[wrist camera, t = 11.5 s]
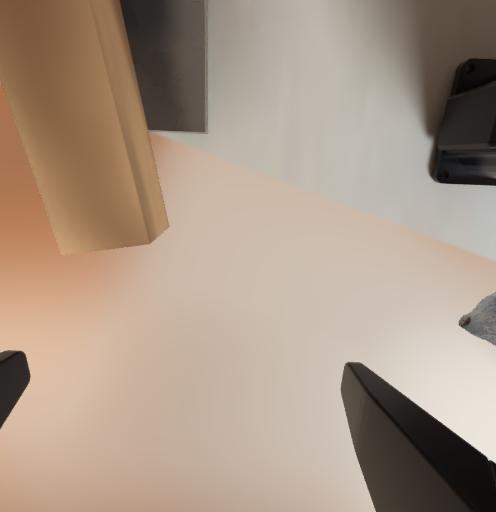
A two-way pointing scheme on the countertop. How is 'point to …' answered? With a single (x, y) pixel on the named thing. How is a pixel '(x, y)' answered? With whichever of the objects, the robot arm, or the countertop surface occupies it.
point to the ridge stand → (170, 62)
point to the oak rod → (81, 121)
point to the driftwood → (482, 319)
